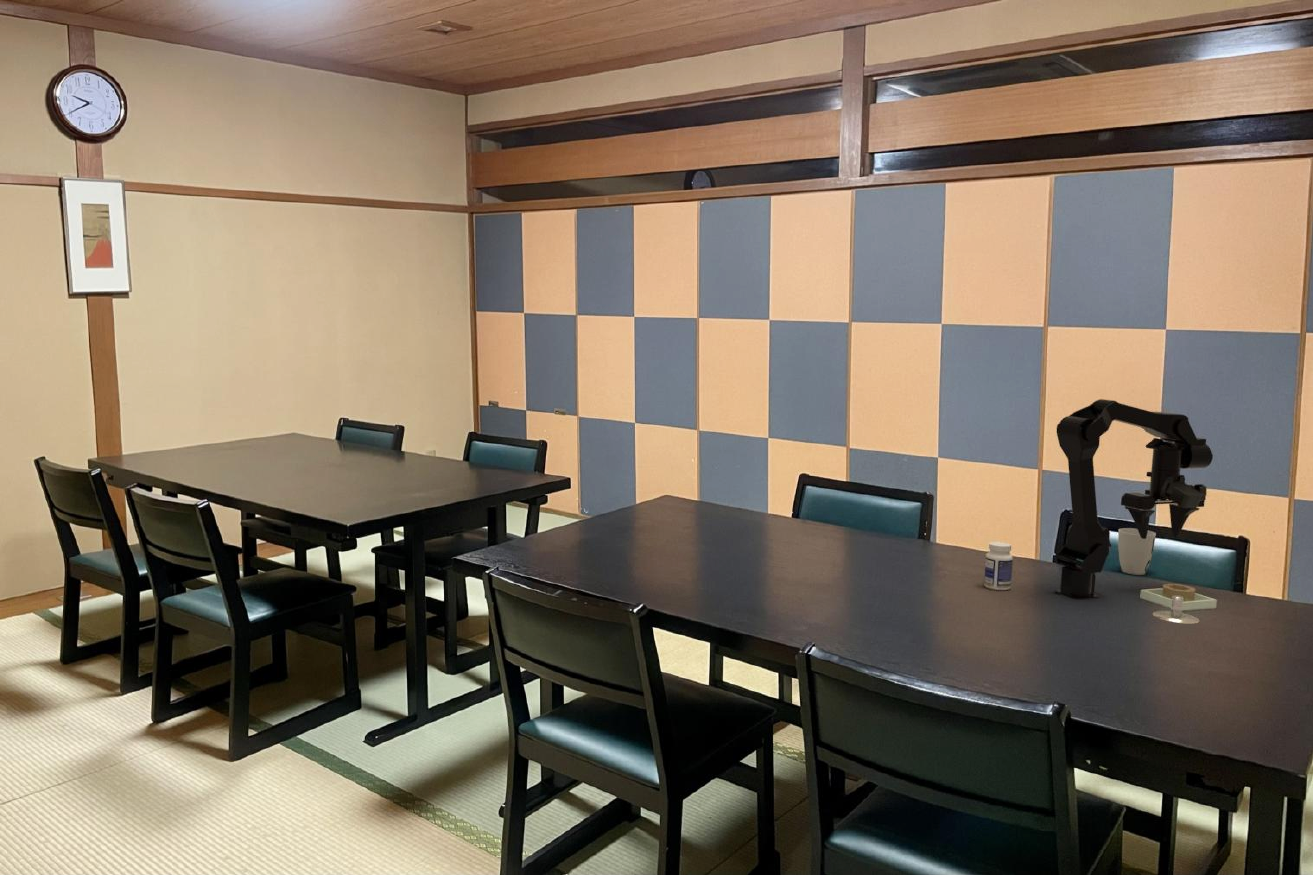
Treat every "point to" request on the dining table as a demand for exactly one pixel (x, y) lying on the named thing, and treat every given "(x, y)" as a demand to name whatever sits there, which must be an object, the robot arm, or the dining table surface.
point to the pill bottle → (998, 566)
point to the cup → (1135, 550)
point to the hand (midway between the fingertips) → (1159, 537)
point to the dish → (1197, 604)
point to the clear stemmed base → (1176, 613)
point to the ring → (1178, 591)
